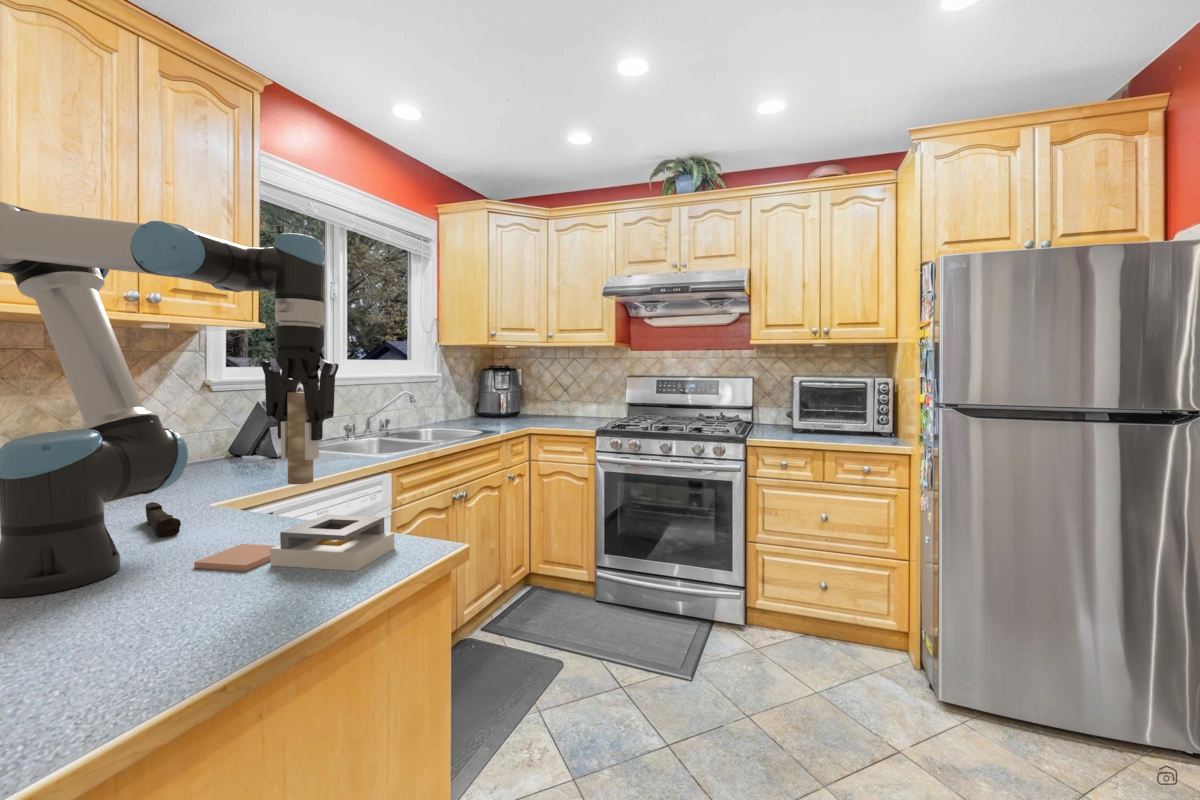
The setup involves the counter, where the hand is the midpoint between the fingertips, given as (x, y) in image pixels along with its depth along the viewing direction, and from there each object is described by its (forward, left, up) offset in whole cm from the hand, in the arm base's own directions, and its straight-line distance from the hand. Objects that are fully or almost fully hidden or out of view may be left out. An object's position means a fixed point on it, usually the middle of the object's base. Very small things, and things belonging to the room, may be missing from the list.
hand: (300, 457), depth 97 cm
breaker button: (+6, +1, -18) cm, 19 cm away
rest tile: (-9, -3, -18) cm, 20 cm away
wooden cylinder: (0, 0, -4) cm, 4 cm away
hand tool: (-44, +12, -18) cm, 49 cm away
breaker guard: (+6, +1, -18) cm, 19 cm away
